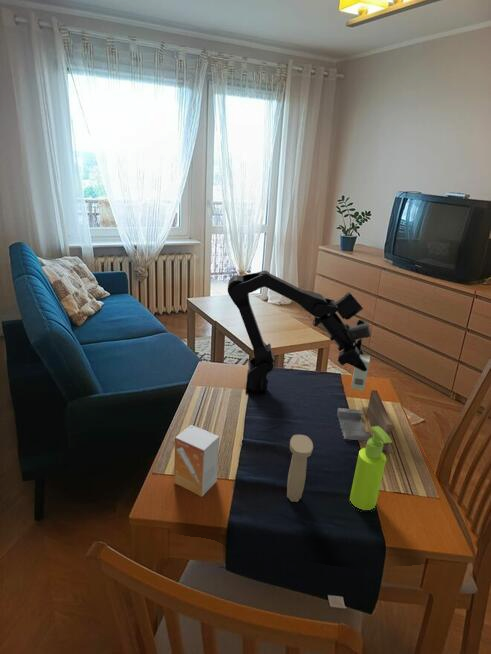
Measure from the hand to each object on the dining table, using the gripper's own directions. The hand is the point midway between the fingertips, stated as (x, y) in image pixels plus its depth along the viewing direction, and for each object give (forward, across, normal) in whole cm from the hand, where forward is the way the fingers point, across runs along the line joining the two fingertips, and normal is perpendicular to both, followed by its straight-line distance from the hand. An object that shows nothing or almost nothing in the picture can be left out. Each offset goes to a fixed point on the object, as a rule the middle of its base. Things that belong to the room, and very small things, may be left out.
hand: (366, 367), depth 139 cm
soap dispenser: (+12, -46, +7) cm, 48 cm away
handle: (+1, -50, +18) cm, 53 cm away
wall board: (+13, -16, +5) cm, 21 cm away
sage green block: (+4, 0, +6) cm, 7 cm away
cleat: (+8, -16, +10) cm, 20 cm away
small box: (-15, -54, +34) cm, 65 cm away
